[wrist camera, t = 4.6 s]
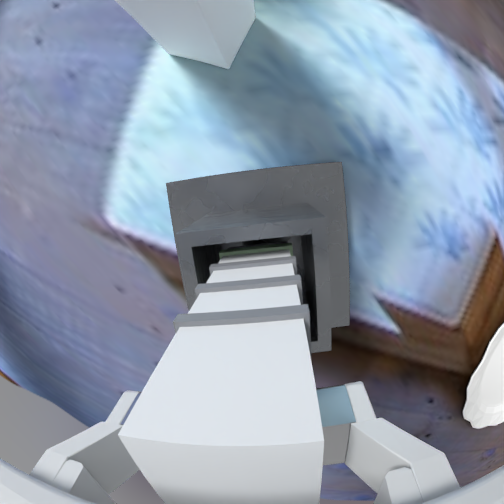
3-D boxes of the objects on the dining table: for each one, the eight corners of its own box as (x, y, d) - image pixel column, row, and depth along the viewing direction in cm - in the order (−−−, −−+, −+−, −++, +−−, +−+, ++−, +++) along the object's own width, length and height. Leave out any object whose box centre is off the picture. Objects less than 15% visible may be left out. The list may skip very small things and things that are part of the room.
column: (233, 304, 21) (170, 516, 6) (224, 244, 20) (106, 427, 5) (295, 299, 21) (324, 520, 5) (290, 238, 20) (336, 432, 4)
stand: (197, 333, 27) (165, 402, 18) (170, 182, 24) (110, 189, 14) (347, 320, 26) (377, 389, 16) (339, 162, 23) (382, 154, 13)
